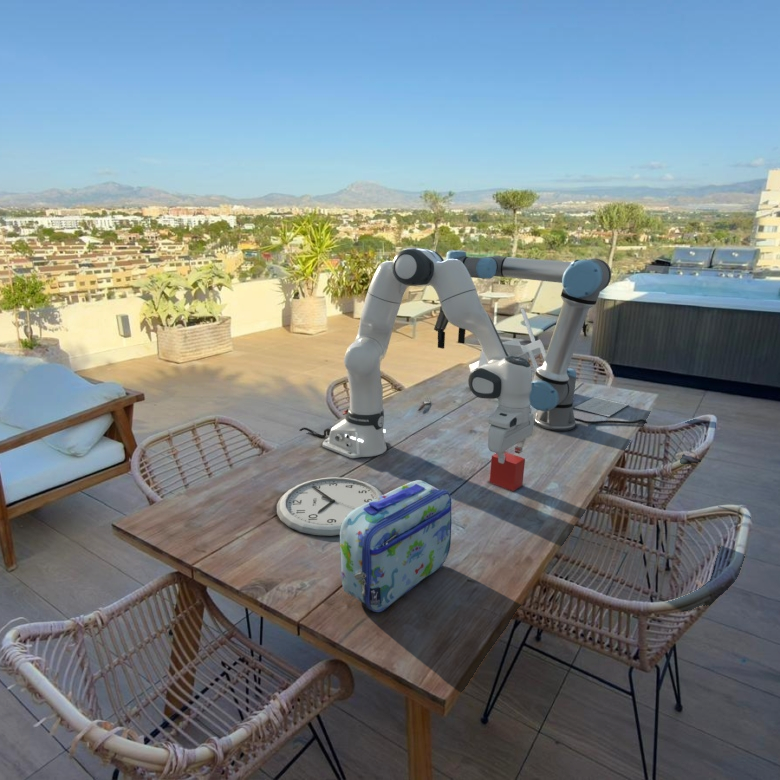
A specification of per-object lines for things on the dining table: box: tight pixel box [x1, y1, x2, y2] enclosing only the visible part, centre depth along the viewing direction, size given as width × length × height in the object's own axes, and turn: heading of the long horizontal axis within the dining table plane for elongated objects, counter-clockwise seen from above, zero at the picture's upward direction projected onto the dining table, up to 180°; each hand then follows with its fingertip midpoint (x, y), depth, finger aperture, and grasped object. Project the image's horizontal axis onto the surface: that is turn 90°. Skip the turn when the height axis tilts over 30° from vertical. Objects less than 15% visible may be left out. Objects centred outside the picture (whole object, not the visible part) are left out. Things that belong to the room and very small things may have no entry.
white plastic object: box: [468, 307, 547, 374], centre depth 255 cm, size 37×45×31 cm
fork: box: [418, 396, 432, 411], centre depth 223 cm, size 3×16×2 cm, turn 160°
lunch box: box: [339, 479, 452, 613], centre depth 109 cm, size 26×11×21 cm, turn 134°
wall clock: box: [276, 476, 385, 537], centre depth 142 cm, size 30×2×30 cm
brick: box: [489, 451, 526, 492], centre depth 155 cm, size 5×8×9 cm
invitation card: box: [573, 396, 629, 418], centre depth 226 cm, size 21×1×15 cm
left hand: (510, 457), depth 154 cm, fingers open, 8 cm apart
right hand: (451, 345), depth 209 cm, fingers open, 13 cm apart
